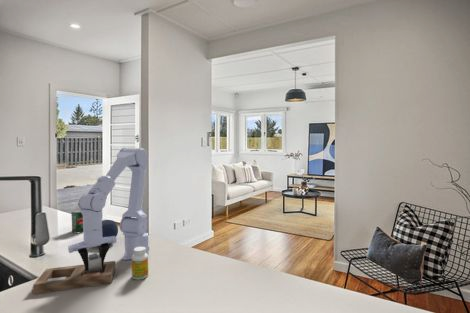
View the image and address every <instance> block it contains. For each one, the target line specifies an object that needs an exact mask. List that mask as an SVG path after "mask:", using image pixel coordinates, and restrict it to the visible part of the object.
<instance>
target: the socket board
mask: <svg viewBox="0 0 470 313" xmlns="http://www.w3.org/2000/svg"><path fill="white" fill-rule="evenodd" d="M115 272H116V260H112V261H111V260H110V261H104V263H103V267H102V273H100V272H98V273H90V274H86V270H85V266H84V264H77V265H68V266H62V267H61V266H60V267H53V268H52V267H51V268H46V269H45V270H44V271H43V272H42V273H41V275H40V276H39V277H38V278H37V280H35V282H34V283H33V285H32V288H33V295H39V294H44V293H52V292H57V291H66V290H72V289H73V290H74V289H80V288H81V289H82V288H88V287H93V286H101V285H107V284H112V282H113V279H114V275H115Z"/></svg>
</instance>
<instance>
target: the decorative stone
mask: <svg viewBox="0 0 470 313" xmlns="http://www.w3.org/2000/svg"><path fill="white" fill-rule="evenodd" d="M118 234H119V226H118V224H117V222H115V220H111V219H106V220H102V237H111V236H115V237H116V238H117V236H118Z"/></svg>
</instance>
